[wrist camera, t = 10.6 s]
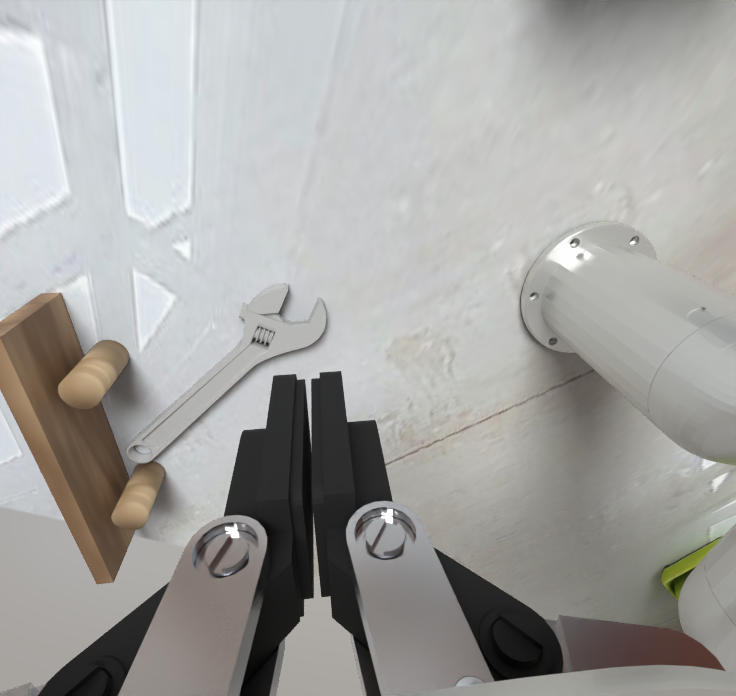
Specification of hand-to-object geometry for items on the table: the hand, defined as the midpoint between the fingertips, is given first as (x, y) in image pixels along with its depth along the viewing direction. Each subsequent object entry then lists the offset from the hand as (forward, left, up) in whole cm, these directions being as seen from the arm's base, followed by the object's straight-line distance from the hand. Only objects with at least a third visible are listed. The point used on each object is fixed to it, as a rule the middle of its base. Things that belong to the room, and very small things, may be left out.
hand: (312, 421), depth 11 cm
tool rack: (+20, +19, -27) cm, 38 cm away
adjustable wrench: (+10, +15, -28) cm, 33 cm away
